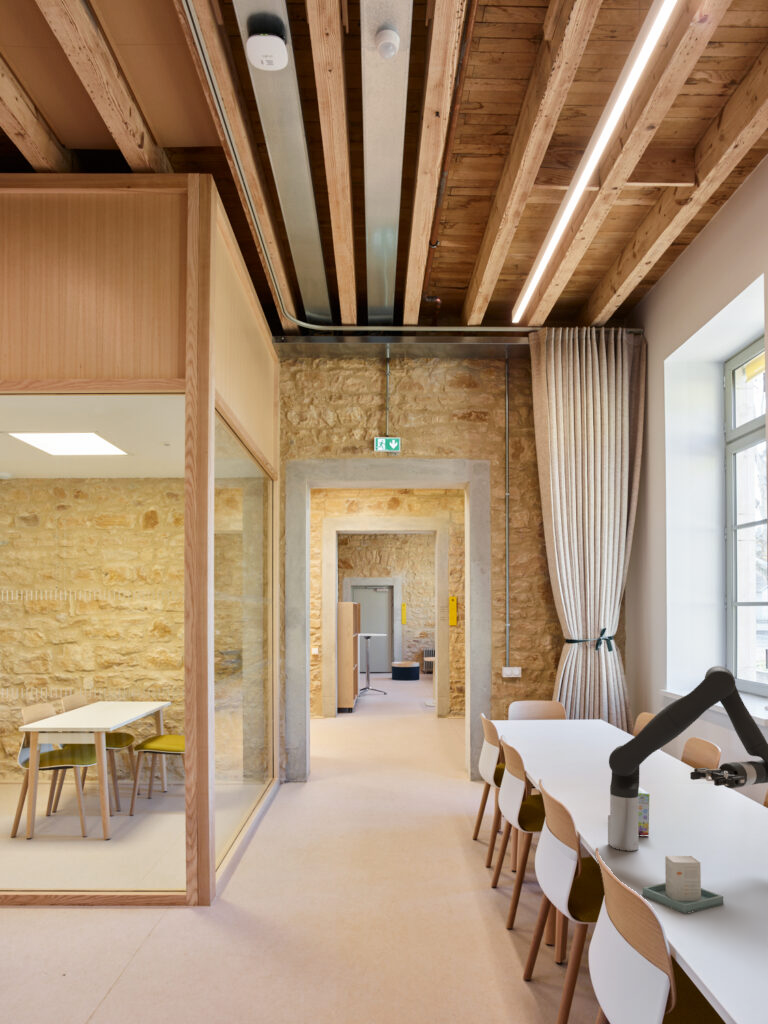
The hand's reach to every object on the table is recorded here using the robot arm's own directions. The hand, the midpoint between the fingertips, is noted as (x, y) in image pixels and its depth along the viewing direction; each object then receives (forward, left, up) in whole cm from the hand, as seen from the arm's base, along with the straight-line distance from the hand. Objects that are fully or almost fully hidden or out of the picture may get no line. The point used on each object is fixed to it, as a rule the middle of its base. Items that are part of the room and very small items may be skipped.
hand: (703, 779), depth 243 cm
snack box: (-50, +25, -30) cm, 64 cm away
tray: (+7, -18, -30) cm, 36 cm away
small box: (+7, -18, -30) cm, 35 cm away
